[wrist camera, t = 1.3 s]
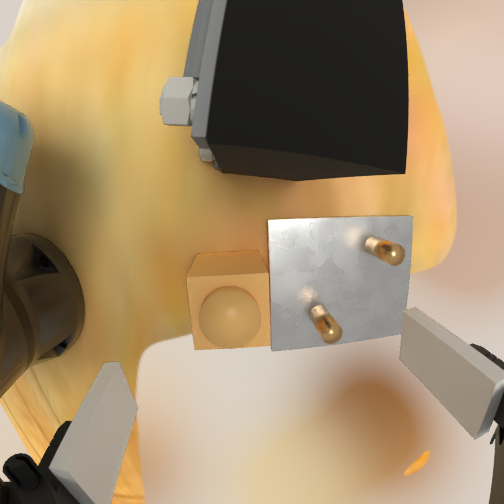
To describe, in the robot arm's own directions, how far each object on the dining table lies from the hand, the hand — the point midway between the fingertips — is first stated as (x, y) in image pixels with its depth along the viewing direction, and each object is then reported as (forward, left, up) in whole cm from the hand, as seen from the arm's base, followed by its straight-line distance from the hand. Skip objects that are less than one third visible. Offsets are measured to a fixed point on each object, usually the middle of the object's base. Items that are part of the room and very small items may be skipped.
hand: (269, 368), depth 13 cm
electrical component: (+2, +17, -19) cm, 26 cm away
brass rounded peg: (+13, +1, -19) cm, 23 cm away
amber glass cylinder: (+7, -6, -19) cm, 21 cm away
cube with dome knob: (-2, -2, -19) cm, 19 cm away
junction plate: (+10, -3, -19) cm, 22 cm away
